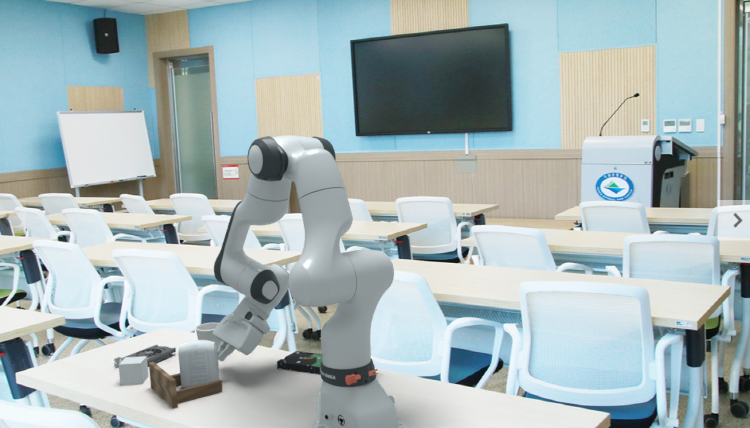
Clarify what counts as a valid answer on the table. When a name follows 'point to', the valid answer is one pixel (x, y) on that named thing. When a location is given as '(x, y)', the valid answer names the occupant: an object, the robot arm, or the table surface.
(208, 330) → the dixie cup
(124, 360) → the grey cube
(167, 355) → the graphics card
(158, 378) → the dock
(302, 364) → the disk drive
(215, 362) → the photo printer
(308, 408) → the table surface
